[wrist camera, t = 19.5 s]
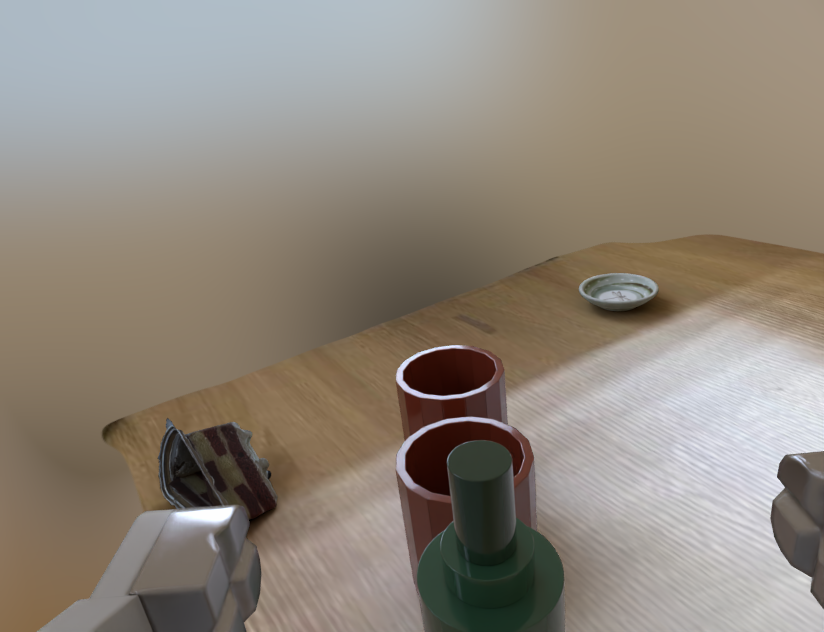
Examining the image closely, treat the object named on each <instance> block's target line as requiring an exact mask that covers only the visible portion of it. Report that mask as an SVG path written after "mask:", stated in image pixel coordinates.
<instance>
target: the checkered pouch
mask: <svg viewBox="0 0 824 632" xmlns="http://www.w3.org/2000/svg"><path fill="white" fill-rule="evenodd" d="M166 421H167V423H166V428H167V430H166V432H165V435H164V436H163V439H162V442H161V446H160V448H161V450H160V454H159V456H158V459H159V460H160V461H159V463H160V465H159V479H160V488H161V491H162V492H163V495H164V497H165V499H167V501H169V502H170V503H171V504H170V505H175V506H176V509H179V508H194V507H208V506H223V505H238V504H239V505H241V506H243V507H244V508H245V510H246V513H247V516H248V519H253V518H255V517H257V516H259V515H260V514H262V513H264V512H265V511H268V510H271V509H272V508H274V507H275V506H276V501H277V495H276V494H275V491H274V489H273V487H272V485H271V483H270V481H269V480H268V479H269V478H270V477H271V472H270V471H267V468H268V467H269V463H268V461H267V460H266V459H265V458H261V459H259V458H258V456H257V455H256V453H255V451H254V450H253V448H252V446H251V445H250V439H251V437H252V432H251V431H248V430H242V429H240V427H239V425H238V424H237V423H235V422H230V423H227V424H223V425H218V426H215V427H211V428H207V429H203V430H199V431H195V432H192V433H189V434H186V435H184V433H183V431H181V430H177V429H176V428H175V427H174V425H173V424H172V422H171V421H170V420H169V419H168V418H167V420H166Z"/></svg>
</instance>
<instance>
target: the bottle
mask: <svg viewBox="0 0 824 632" xmlns="http://www.w3.org/2000/svg"><path fill="white" fill-rule="evenodd" d="M447 471H448V479H449V488H450V496H451V505H452V513H453V521H452V522H451V523H450V524H449V525H448V526H447V528H446V529H445V530H444V531H443V532H441V533H440V534H439V535H437V536H436V537H435V538H434V539H433V540H432V541H431V542H430V543H429V544H428V546H427V547H426V548H425V550H424V552H423V554H422V555H421V558H420V561H419V564H418V568H417V586H418V592H419V598H420V605H421V611H422V617H423V624H424V630H425V632H565V589H564V570H563V565H562V562H561V560H560V557H559V555H558V553H557V552H556V550H555V548H554V547H553V546H552V545H551V543H550V542H549V541H548V540H547V539H546V538H545V537H544V536H542V535H541V534H540V533H539V532H537V531H535V530H534V529H532V528H530V527H528V526H526V525H525V524H524V523H523V522H522V521H521V520H519V519H518V518H516V513H515V496H514V480H513V464H512V456H511V454H510V452H509V451H508V450H507V449H506V448H505V447H504V446H502V445H501V444H499V443H496V442H493V441H488V440H474V441H469V442H466V443H463V444H461V445H459V446H457V447H456V448H454V449H453V450H452V451H451V452H450V454H449V455H448V458H447Z"/></svg>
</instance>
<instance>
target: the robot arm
mask: <svg viewBox="0 0 824 632" xmlns="http://www.w3.org/2000/svg"><path fill="white" fill-rule="evenodd" d="M777 478H778V479H779V480H780V481H781V483H782V484H783V485H784V487H785V489H784V490H783V491H782V492H781V493H780V494H779V495H778V496H777V497H776V498H775V499H774V500H773V503H772V511H771V523H772V528H773V533H774V537H775V540H776V542H777V544H778V546H779V548H780V550H781V552H782V553H783V555H784V556H785V558H786V559H787V560H788V562H789V563H790V565H791V566H793V567H794V568H796V569H798V570H800V571H801V572H803V573H805V574H807V575H808V576H810V577H812V581H811V591H810V592H811V593H812V594H813V596H814V597H815V598H816V600H817V601H818V602H819V604H820V605H821V606H822V608H823V609H824V451H821V452H810V453H800V454H790V455H785V456H784V458H783V459H782V461H781V462H780V464H779V469H778V474H777ZM249 526H250V522H249V519H248V516H247V513H246V510H245V508H244V507H243V506H241V505H239V504H238V505H223V506H208V507H194V508H179V509H176V510H158V511H145V512H144V513H142V514H141V515H139V516H138V517H137V518H136V520H135V521H134V523H133V525H132V526H131V528H130V530H129V531H128V533H127V535H126V537H125V538H124V540H123V542H122V544H121V545H120V547H119V549H118V550H117V552H116V554H115V555H114V557H113V559H112V561H111V562H110V564H109V566H108V567H107V569H106V571H105V573H104V574H103V576H102V578H101V579H100V581H99V583H98V585H97V586H96V588H95V590H94V591H93V593H92V595H91V597H90V598H89V599H83V600H78V601H77V602H75V603H74V604H73V605H71V606H70V607H69V608H67V609H66V610H65V611H63V612H62V613H61V614H59V615H58V616H57V617H55V618H54V619H53V620H52V621H50V622H49V623H47V624H46V625H45V626H44V627H43V628H41V629H40V630H38V631H37V632H246V628H245V625H244V622H245V621H246V620H247V619H248V618H249V617H250V616H251V615H252V614H253V613H254V612H255V611H256V607H257V603H258V599H259V595H260V586H261V565H260V558H259V554H258V550H257V546H256V545H254V544H253V543H252V542H251V541H249V540H248V539H247V538H246V535H247V532H248V529H249Z"/></svg>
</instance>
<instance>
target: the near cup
mask: <svg viewBox="0 0 824 632" xmlns="http://www.w3.org/2000/svg"><path fill="white" fill-rule="evenodd" d="M474 440H488V441H493V442H496V443H499V444H501V445H502V446H504V447H505V448H506V449H507V450H508V451H509V452H510V454H511V456H512V464H513V480H514V496H515V513H516V518H518V519H519V520H521V521H522V522H523V523H524V524H525V525H526V526H528V527H530V528H532V529H534V530H535V531H537V513H536V490H535V467H534V455H533V452H532V449H531V446H530V443H529V440H528V439H527V438H525V437H524V436H523V435H522V434H521V433H520V432H519V431H518V430H517V429H516V428H514V427H512V426H509V425H507V424H504V423H502V422H499V421H497V420H494V419H488V418H480V417H460V418H451V419H444V420H442V421H439V422H436V423H433V424H430V425H427V426H425V427H423V428H421V429H420V430H418V431H417V432H415V433H414V434H413V435H411V436H410V437H408V438H407V439H406V440H405V442H404V443H403V445H402V447H401V448H400V450H399V451H398V453H397V455H396V475H397V481H398V487H399V494H400V500H401V506H402V512H403V518H404V525H405V531H406V537H407V543H408V549H409V556H410V562H411V568H412V574H413V580H414V584H415V587H416V590H417V593H418V595H419V592H418V586H417V568H418V564H419V561H420V558H421V555H422V554H423V552H424V550H425V548H426V547H427V546H428V544H429V543H430V542H431V541H432V540H433V539H434V538H435V537H436V536H437V535H439V534H440V533H441V532H443V531H444V530H445V529H446V528H447V526H448V525H449V524H450V523H451V522H452V521H453V513H452V505H451V496H450V488H449V479H448V471H447V458H448V455H449V454H450V452H451V451H452V450H453V449H454V448H456V447H457V446H459V445H461V444H463V443H466V442H469V441H474Z"/></svg>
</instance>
